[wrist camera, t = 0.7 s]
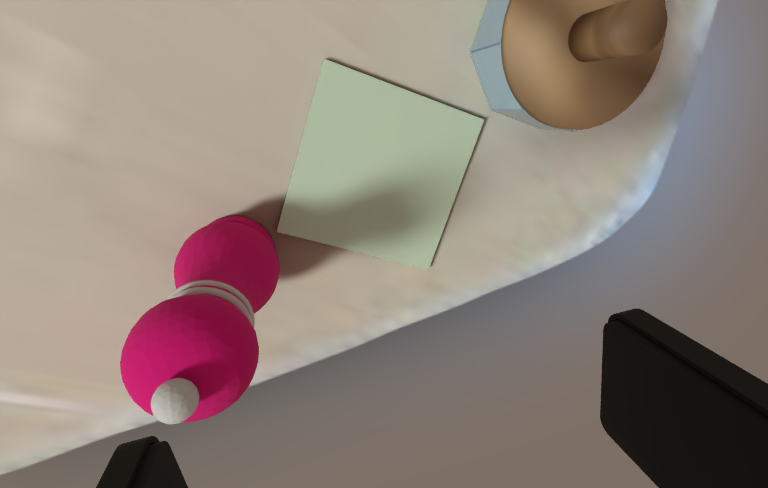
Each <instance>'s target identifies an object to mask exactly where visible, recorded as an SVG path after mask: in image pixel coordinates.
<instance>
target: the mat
mask: <svg viewBox="0 0 768 488" xmlns="http://www.w3.org/2000/svg"><path fill="white" fill-rule="evenodd" d="M483 122H484V119H481V118H479V117H476V116H473V115H471V114H468V113H465V112H463V111H460V110H458V109H455V108H452V107H450V106H447V105H444V104H442V103H439V102H437V101H434V100H431V99H429V98H426V97H423V96H421V95H418V94H416V93H413V92H410V91H408V90H405V89H403V88H400V87H397V86H395V85H392V84H389V83H387V82H384V81H382V80H379V79H376V78H374V77H371V76H368V75H366V74H363V73H361V72H358V71H355V70H353V69H350V68H347V67H345V66H342V65H340V64H337V63H334V62H332V61H329V60H326V59H323V62H322V66H321V69H320V73H319V77H318V80H317V84H316V88H315V91H314V95H313V99H312V102H311V106H310V110H309V113H308V117H307V121H306V124H305V128H304V132H303V135H302V139H301V143H300V147H299V150H298V154H297V158H296V161H295V165H294V169H293V172H292V176H291V180H290V183H289V187H288V191H287V194H286V198H285V202H284V205H283V209H282V213H281V216H280V220H279V224H278V227H277V232H279V233H283V234H287V235H291V236H295V237H299V238H303V239H307V240H311V241H315V242H319V243H323V244H327V245H331V246H335V247H339V248H343V249H347V250H351V251H355V252H359V253H363V254H367V255H371V256H375V257H379V258H383V259H387V260H391V261H395V262H399V263H403V264H407V265H411V266H414V267H418V268H422V269H426V270H429V267H430V264H431V262H432V259H433V256H434V254H435V251H436V248H437V246H438V243H439V240H440V238H441V235H442V232H443V230H444V227H445V224H446V221H447V219H448V216H449V213H450V211H451V208H452V205H453V203H454V200H455V197H456V195H457V192H458V189H459V187H460V184H461V181H462V179H463V176H464V173H465V170H466V168H467V165H468V162H469V160H470V157H471V154H472V152H473V149H474V146H475V144H476V141H477V138H478V136H479V133H480V130H481V127H482V125H483Z"/></svg>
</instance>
